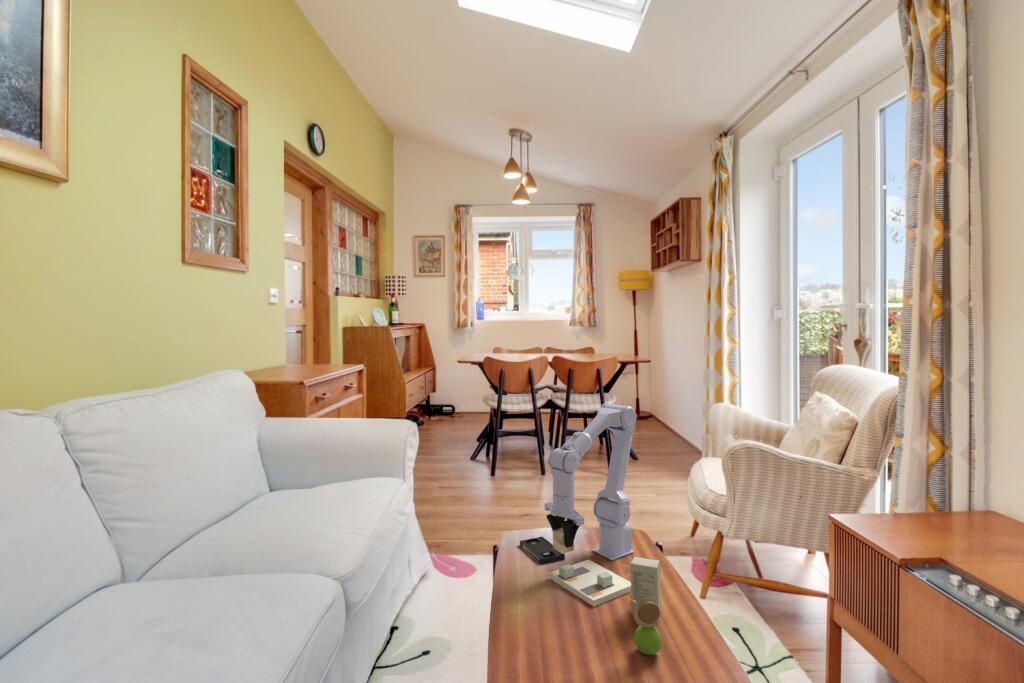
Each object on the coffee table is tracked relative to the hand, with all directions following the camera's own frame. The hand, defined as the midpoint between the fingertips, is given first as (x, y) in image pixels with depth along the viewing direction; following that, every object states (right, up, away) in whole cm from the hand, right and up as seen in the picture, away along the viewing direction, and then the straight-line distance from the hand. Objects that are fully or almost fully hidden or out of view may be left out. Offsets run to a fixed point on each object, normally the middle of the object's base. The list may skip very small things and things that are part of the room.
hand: (563, 543), depth 135 cm
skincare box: (+17, -9, -19) cm, 27 cm away
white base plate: (+7, -8, -5) cm, 12 cm away
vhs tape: (-5, -9, +14) cm, 17 cm away
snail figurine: (+13, -9, -34) cm, 37 cm away
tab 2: (+9, -7, -9) cm, 15 cm away
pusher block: (0, -2, 0) cm, 2 cm away
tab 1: (0, -7, -4) cm, 8 cm away
